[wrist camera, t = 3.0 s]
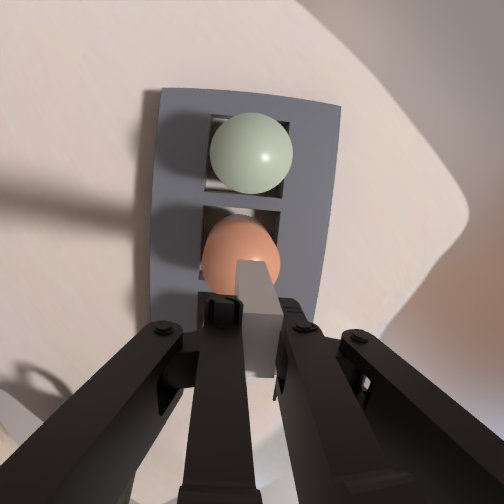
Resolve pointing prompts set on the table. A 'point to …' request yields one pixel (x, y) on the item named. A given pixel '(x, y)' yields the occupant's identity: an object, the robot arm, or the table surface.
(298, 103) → the button board
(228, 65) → the table surface
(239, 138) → the sage button
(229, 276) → the terracotta button
